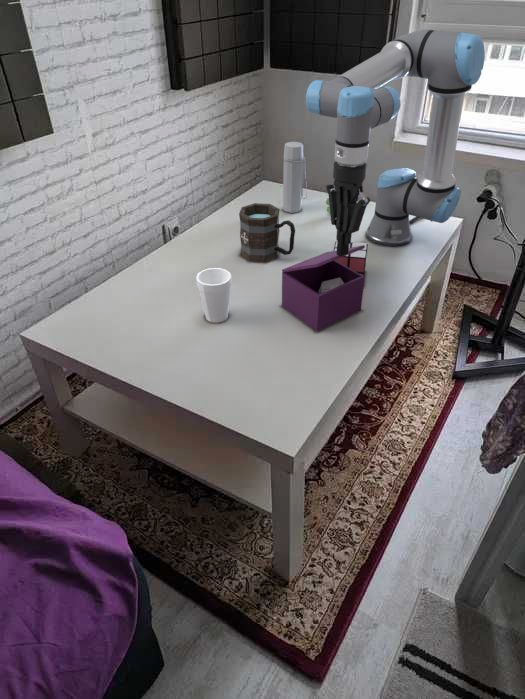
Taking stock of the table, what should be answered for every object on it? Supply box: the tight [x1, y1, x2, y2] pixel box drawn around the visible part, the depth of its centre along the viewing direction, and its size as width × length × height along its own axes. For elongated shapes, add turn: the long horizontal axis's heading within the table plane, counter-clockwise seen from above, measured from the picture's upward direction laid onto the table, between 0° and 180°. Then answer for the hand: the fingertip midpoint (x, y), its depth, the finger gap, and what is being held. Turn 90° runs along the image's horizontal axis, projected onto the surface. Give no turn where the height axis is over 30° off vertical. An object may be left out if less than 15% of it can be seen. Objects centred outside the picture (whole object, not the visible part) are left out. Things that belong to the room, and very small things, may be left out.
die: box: [318, 278, 345, 294], centre depth 152 cm, size 8×9×10 cm
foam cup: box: [195, 267, 233, 324], centre depth 148 cm, size 10×9×13 cm
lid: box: [281, 245, 365, 273], centre depth 145 cm, size 16×17×1 cm
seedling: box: [325, 197, 330, 215], centre depth 207 cm, size 7×8×7 cm
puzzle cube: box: [332, 240, 369, 276], centre depth 165 cm, size 10×10×10 cm
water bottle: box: [282, 141, 308, 214], centre depth 201 cm, size 9×8×25 cm
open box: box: [281, 260, 366, 332], centre depth 151 cm, size 16×17×11 cm
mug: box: [238, 202, 296, 264], centre depth 176 cm, size 20×14×15 cm
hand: (342, 253), depth 138 cm, fingers closed
